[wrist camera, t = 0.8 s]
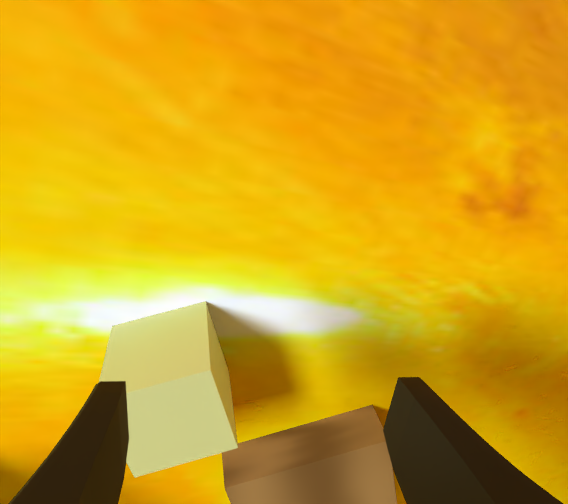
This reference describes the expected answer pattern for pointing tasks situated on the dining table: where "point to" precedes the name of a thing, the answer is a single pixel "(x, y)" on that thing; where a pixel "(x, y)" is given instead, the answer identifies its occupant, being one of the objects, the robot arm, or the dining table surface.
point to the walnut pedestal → (314, 464)
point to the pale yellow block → (172, 388)
